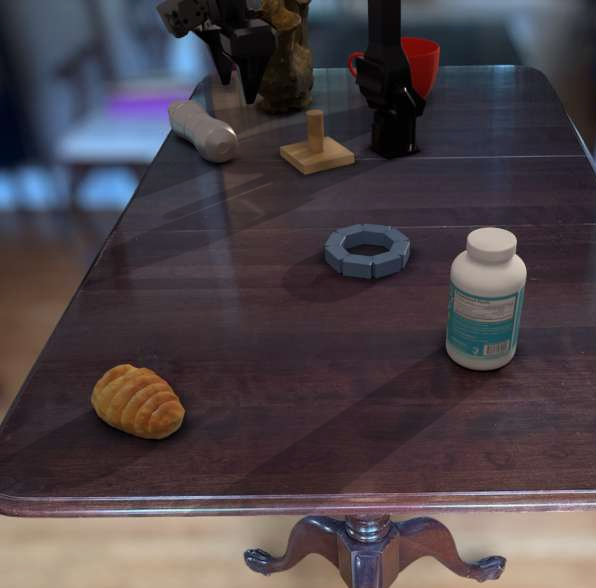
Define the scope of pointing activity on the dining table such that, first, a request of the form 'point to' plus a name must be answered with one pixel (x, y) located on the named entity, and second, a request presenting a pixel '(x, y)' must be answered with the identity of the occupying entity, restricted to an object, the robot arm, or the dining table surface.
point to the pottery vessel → (287, 56)
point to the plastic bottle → (202, 130)
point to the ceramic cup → (416, 62)
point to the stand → (316, 149)
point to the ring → (367, 264)
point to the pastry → (137, 402)
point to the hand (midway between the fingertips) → (237, 94)
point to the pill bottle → (485, 300)
